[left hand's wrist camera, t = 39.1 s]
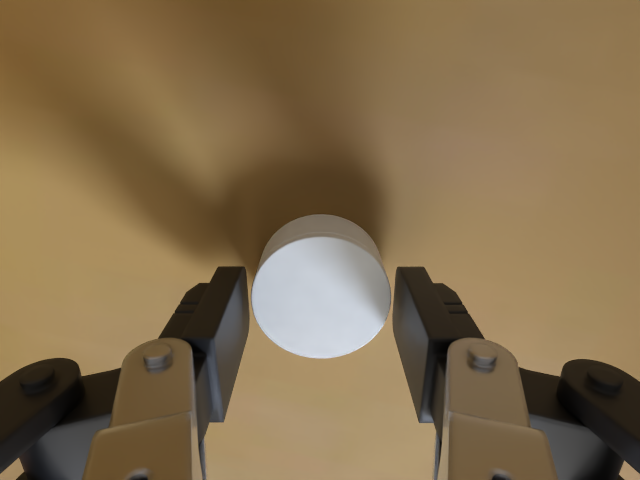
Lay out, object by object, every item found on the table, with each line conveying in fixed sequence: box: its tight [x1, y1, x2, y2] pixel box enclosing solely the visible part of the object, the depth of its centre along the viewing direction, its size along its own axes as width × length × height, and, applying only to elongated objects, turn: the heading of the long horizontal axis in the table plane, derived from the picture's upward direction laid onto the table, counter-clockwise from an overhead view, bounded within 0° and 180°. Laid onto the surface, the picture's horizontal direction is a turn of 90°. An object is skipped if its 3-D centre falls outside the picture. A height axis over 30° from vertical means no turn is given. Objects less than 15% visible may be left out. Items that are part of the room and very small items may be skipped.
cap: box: [251, 214, 391, 358], centre depth 12 cm, size 4×4×2 cm
